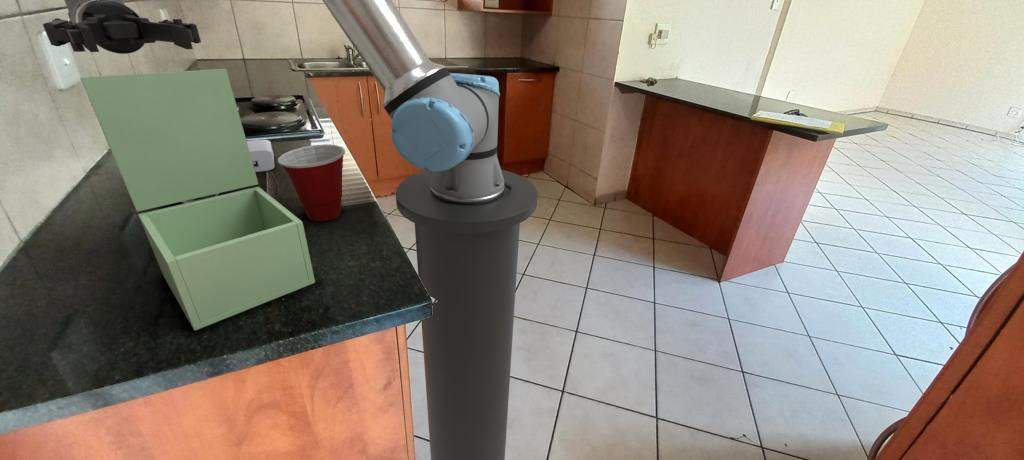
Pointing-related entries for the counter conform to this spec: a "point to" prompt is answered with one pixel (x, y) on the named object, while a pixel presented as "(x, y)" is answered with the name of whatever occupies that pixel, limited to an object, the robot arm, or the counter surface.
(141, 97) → the bin lid
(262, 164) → the charger
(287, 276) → the bin
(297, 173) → the plastic cup
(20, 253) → the counter surface
